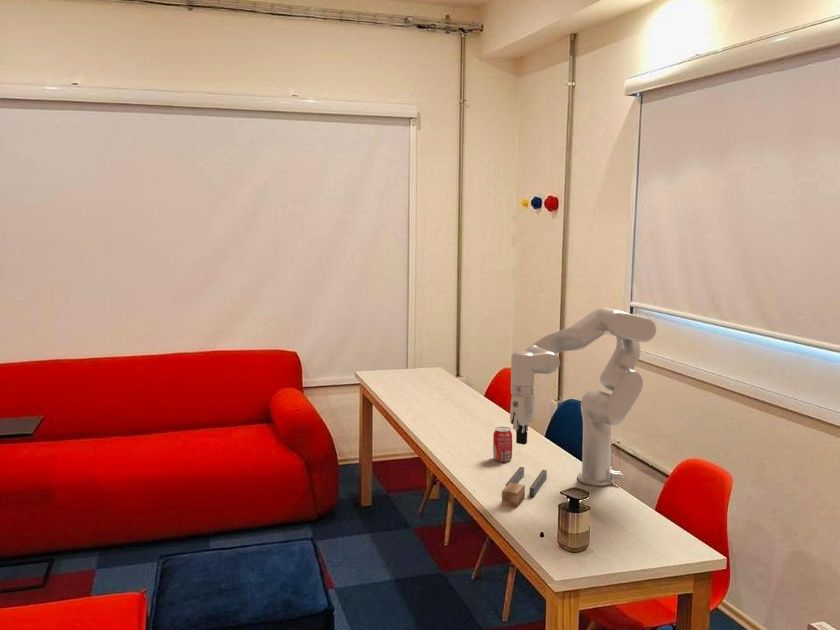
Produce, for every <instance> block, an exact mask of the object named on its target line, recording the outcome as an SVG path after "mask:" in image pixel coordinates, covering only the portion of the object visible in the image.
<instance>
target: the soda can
mask: <svg viewBox="0 0 840 630" xmlns="http://www.w3.org/2000/svg"><path fill="white" fill-rule="evenodd" d="M492 443H493V446H492V447H493V448H492V451H493V452H492V453H493V455H492V456H493V459H494V460H496V461H497V462H500V463H506V462H509V461H511V460H512V458H513V433H512V430H511V427H508V426H497V427H495V430H494V431H493V441H492Z"/></svg>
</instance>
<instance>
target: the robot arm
mask: <svg viewBox="0 0 840 630" xmlns="http://www.w3.org/2000/svg"><path fill="white" fill-rule="evenodd" d="M656 333H657V326H656V323H655V322H654V321H653V320H652V319H651V318H649V317H645V316H641V315H637V314H636V315H635V314H632V313H628V312H625V311H622V310H618V309H613V308H609V307H599V308H596V309H594V310H593V311H591V312H590V313H588V314H587V315H586V316H584V317H583V318H581V319H580V320H578V321H577V322H575V323H574V324H572V325H570V327H568V328H567V327H566V328H564V329H561V330H558V331H556V332H552V333H550V334H548V335H546V336H543V337H541V338H540V339H538V340H536V341H535V342H534V343H532V344H531V345H530V346H528V347H527V348H526V350H518V351H514V352H512V354H511V358H510V366H511V367H510V394H511V399H510V409H509V410H510V411H509V412H510V413H509V422H510V424H511V425H512V430H515V433H516V435H515V443H516V444H519V445H523V446H524V445H527V443H528V431H529V426H530V425H529V424H531V423H532V422H534V421H535V420H536V398H535V374H543V375H549V374H553V373H555V372H557V371H558V369H559V367H560V366H561V359H560V358H559V356H558V355H557V354H559V353H563V352H571V351H574V352H575V351H579V350H584V349H585V348H587V347H588V346H589V345H591V344H592V343H593V342H595V341H597V340H599V338H601V337H603V336H604V335H609V336H610V335H611V336H614V337H615V339H616V344H615V345H616V346H615V349H614V351H613V353H612V355H611V356H610V359H609V360H608V362H607V364H606V366H605V367H604V369H603V370H602V372H601V374H600V377H599V383H600V385H601V386H602V387H603V388H604V389H606V390H607V391H608V392H611V394H610V393H608V392H605V391H602V390H599V389H593V390H592V389H591V390H588V391H586V392H585V393H584V394H583V396H582V397H581V402H580V411H581V417H582V455H581V458H582V460H581V464H582V465H581V467H582V468H581V471H580V472H578V474H577V475H576V476H577V478H576V479H577V480H578V481H579V482H581V483H583V484H585V485H589V486H595V487H604V486H605V487H606V486H610V485H612V484H614V482H615V481H616V480H615V479H618V480H623V479H624V473H621V471H617V470H614V469H613V466H611V461H612V460H611V454H612V453H611V451H612V450H611V449H612V426H619V425H620V424H622V423H623V422H624V421H625V420H626V418H627V417H628V415H630V414H629V413H630V412H631V411H632V408H633V407H634V405H635V403H637V400H638V398H639V397H640V395H641V393H642V390H643V388H644V387H643V386H644V379H643V377H642V375H641V373H639V372H638V371H637V370H635V368H636V365H637V364H638V362H639V360H640V356H641V346H640V343H647V342H651V340H653V338H654V337H655V336H656Z"/></svg>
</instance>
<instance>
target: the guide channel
mask: <svg viewBox="0 0 840 630" xmlns="http://www.w3.org/2000/svg"><path fill="white" fill-rule="evenodd" d="M547 473H548V471H547V469H542V470H541V471H540V473H538V475H537V476H536V478H535V479H534V481H533V483H532V484H531V485H530V487H529V495H528V496H529V497H530V498H534V497H535V496H536V495H537V493H538V492H539V491H540V489H541V487H542V485H544V483H545V482H546V480H547V475H548V474H547ZM524 476H525V467H523V466H519V468H518V469H517V470H516V471H515V473H514V474H513V475H512V476H511V477H510V478H509V480H508V481H507V482H506V483H505V487H506V486H507V485H508V484H509V483H517V484H520V481H521V480H522V479H523V477H524Z"/></svg>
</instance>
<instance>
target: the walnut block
mask: <svg viewBox="0 0 840 630" xmlns="http://www.w3.org/2000/svg"><path fill="white" fill-rule="evenodd" d="M525 490H526V485H525V484H524V483H523V484H521V483H518V484H517V483H509V484H508V485H507V486H506V485H505V487H504V488H503V489H502V491H501V506H503V507H509V508H516V509H517V508H518V507H519V506H520V505H521V504H522V503H523V502H524V501H525V499H526V496H525V495H526V493H525V492H526V491H525Z"/></svg>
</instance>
